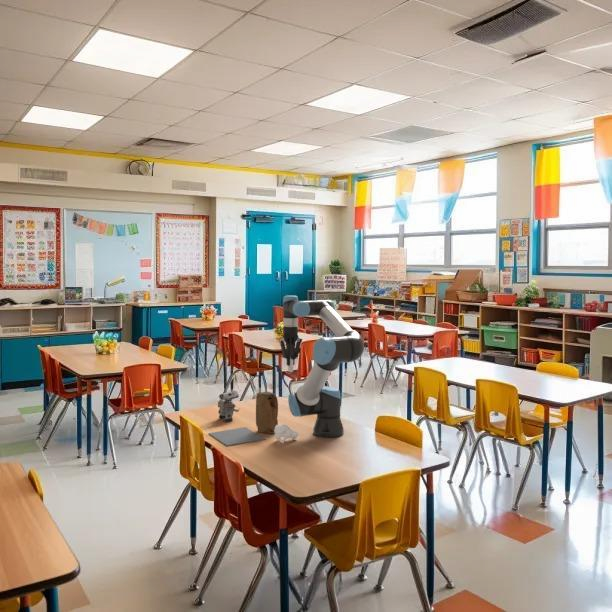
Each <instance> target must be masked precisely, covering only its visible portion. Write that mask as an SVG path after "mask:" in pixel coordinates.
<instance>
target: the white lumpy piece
mask: <svg viewBox="0 0 612 612" xmlns="http://www.w3.org/2000/svg"><path fill="white" fill-rule="evenodd" d="M274 432H275V433H274V437H275V439H276V440H277V441H278V442H280V443H281V444H284V443H285V441H286V440H288V439H290V438H291V439H292V440H293V441H296V439H297V438H298V437H299V433H298V432H299V431H297V430H294V429H292V428H291V427H290V426H288V425H286V424H285V423H278V425H276V426H275V429H274ZM282 438H283V439H282Z"/></svg>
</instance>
